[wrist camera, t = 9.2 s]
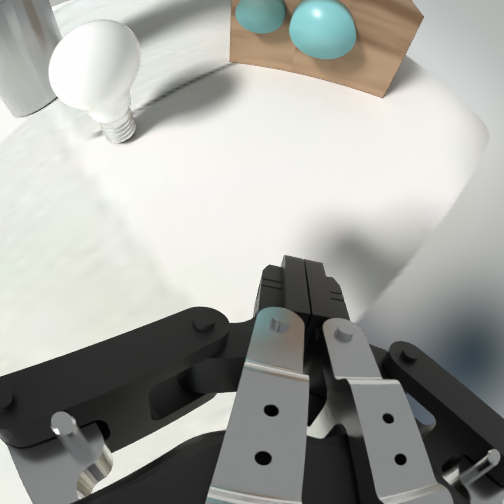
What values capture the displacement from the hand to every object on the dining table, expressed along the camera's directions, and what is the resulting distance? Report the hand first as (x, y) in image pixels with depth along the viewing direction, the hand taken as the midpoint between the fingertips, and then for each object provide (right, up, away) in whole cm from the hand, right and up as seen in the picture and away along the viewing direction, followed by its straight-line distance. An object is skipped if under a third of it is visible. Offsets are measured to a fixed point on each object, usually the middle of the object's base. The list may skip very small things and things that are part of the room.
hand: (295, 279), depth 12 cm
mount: (+5, +22, +15) cm, 27 cm away
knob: (+5, +24, +11) cm, 27 cm away
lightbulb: (-12, +11, +10) cm, 19 cm away
